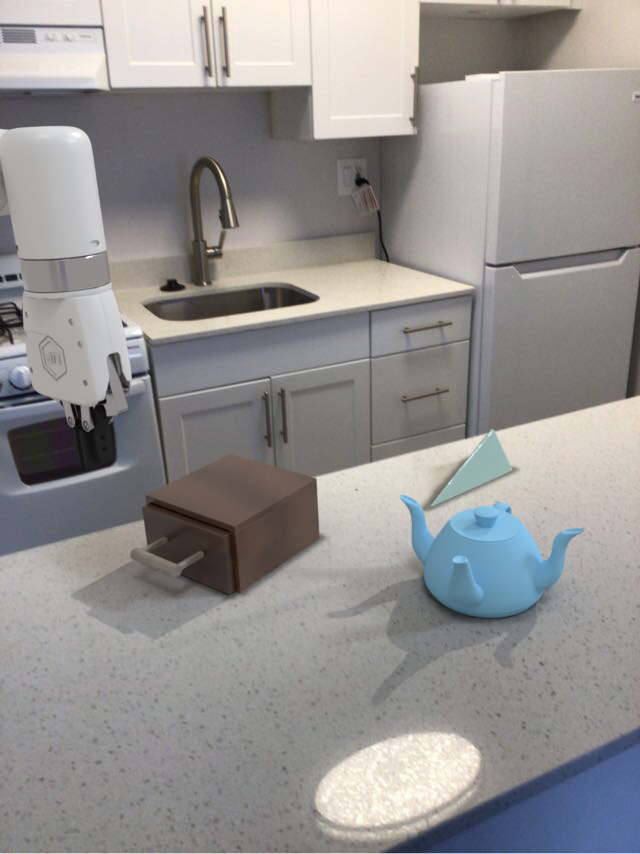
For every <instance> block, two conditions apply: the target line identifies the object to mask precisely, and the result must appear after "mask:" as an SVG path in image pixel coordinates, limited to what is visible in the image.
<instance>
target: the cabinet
mask: <svg viewBox="0 0 640 854" xmlns="http://www.w3.org/2000/svg"><path fill="white" fill-rule="evenodd" d="M317 480H318V479H317V477H313V476H310V475H307V474H302V473H299V472H296V471H293V470H288V469H285V468H281V467H278V466H274V465H270V464H267V463H264V462H260V461H257V460H256V461H255V460H252V459H249V458H245V457H241V456H239V455H234V454H231V453H229V454H227V455H225V456H223V457H221V458H219V459H217V460H215V461H213V462H211V463H208V464H207V465H205V466H202V467H200V468H198V469H196V470H194V471H192V472H190V473H188V474H186V475H184V476H181V477H179V478H177V479H175V480H173V481H172V482H170V483H168V484H167V483H166V484H165V485H163V486H161V487H159V488H157V489H155V490H153V491H151V492H149V493H147V494H145V503H146V505H147V504H149V503H150V504H153V505H156V506H159V507H161V508H163V507H165V508H168V509H170V510H173V511H176V512H179V513H181V514H184V515H187V516H190V517H192V518H195V519H198V520H201V521H204V522H206V523H209V524H212V525H215V526H217V527H220V528H223V529H226V530H228V531H230V533H231V539H232V549H233V559H234V569H235V579H236V591H235V592H237V593H240V594H242V593H244V591H246V590H247V589H249V588H250V587H252V586H254V585H255V584H257V583H258V582H259V581H260V580H262V579H263V578H265V577H266V576H268V575H269V574H270V573H272V572H273V571H275V570H277V569H278V568H280V567H281V566H282V565H284V564H285V563H286V562H288V561H290V560H292V559H293V558H295V556H297V555H298V554H299V553H300V554H301V552H302V551H304V550H306V549H307V548H308V547H310V546H311V545H313V544H314V543H315V542H317V541H318V540H320V537H321V535H320V521H319V517H320V516H319V499H318V498H319V497H318V481H317Z"/></svg>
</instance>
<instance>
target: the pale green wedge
mask: <svg viewBox="0 0 640 854" xmlns="http://www.w3.org/2000/svg"><path fill="white" fill-rule="evenodd" d="M511 471H513V468H512V465H511V462H510V461H509V459H508V456H507V455H506V452H505V449H504V448H503V445H502V444H501V441H500V439H499V438H498V435H497V433H496V431H495V430H494V428H491V429H490V430H489V431H488V432H487V433H486V435H485V436H484V437H483V438H482V439H481V441H480V442H479V443H478V445H477V446H476V447H475V448H474V449H473V451H472V452H471V453H470V455H469V456H468V457H467V458H466V460H465V461H464V462H463V463H462V464H461V466H460V467H459V468H458V470H457V471H456V472H455V473H454V475H453V476H452V477H451V479H450V480H449V481H448V483H447V484H446V485H445V486H444V487H443V489H442V490H441V491H440V493H439V494H438V496H437V497H436V498H435V499H434V500H433V502H432V503H431V504H430V506H429V507H433V506H436V505H437V504H440V503H442V502H445V501H447V500H449V499H451V498H453V497H454V498H455V496H458V495H460V494H462V493H465V492H467V491H469V490H472V489H474V488H476V487H479V486H481V485H483V484H485V483H488V482H489V481H492V480H494V479H496V478H498V477H501V476H503V475H506V474H507V473H510V472H511Z"/></svg>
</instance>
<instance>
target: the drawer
mask: <svg viewBox="0 0 640 854" xmlns="http://www.w3.org/2000/svg"><path fill="white" fill-rule="evenodd" d="M141 511H142V517H143V524H144V532H145V536H146V537H145V539H146V545H145V546H144V547H142V548H139V547H134V548H132V549H131V550H130V554H129V556H130V559H131V560H133V561H135V562H137V563H139V564H142V565H145V566H146V567H149V568H151V569H154V570H156V571H158V572H160V573H162V574H165V575H167V576H170V577H172V578H179V577H180V576H181V575H182V576H184V577H187V578H189V579H191V580H193V581H196V582H198V583H201V584H203V585H206V586H207V587H210V588H212V589H215V590H217V591H220V592H222V593H224V594H227V595H231V594H233V593H234V592H237V591H236V579H235V569H234V559H233V549H232V539H231V533H230V532H228V531H225V530H222V529H219V528H217V527H214V526H211V525H208V524H206V523H203V522H200V521H197V520H194V519H192V518H189V517H188V516H187V515H184V514H181V513H179V512H176V511H173V510H170V509H168V508H165V507H163V508H161V507H159V506H156V505H153V504H150V503H149V504H147V503H146V504H145V505H143V506H141Z"/></svg>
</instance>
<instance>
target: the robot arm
mask: <svg viewBox="0 0 640 854" xmlns="http://www.w3.org/2000/svg"><path fill="white" fill-rule="evenodd" d="M3 216H10V220H11V226H12V231H13V236H14V243H15V248H16V252H17V258H18V263H19V269H20V276H21V281H22V286H23V292H22V293H23V294H22V322H23V323H22V324H23V334H24V343H25V351H26V358H27V366H28V371H29V376H30V382H31V386H32V389H34V391H36V392H37V393H38V394H40V395H41V396H45V397H48V398H50V399H52V400H54V401H55V402H57V403H59V404H60V406H62V407H61V408H63V411H64V414H65V418H66V422H67V425H68V426H69V427H70V428H71V430H72V431H71V432H72V436H73V440H74V441H73V442H74V443H73V444H74V448H75V453H76V461H77V464H78V466H79V467H82V468H85V469H88V470H93V469H96V468H98V467H100V466H103V465H105V464H108V463H110V462H113V461H114V460H115V458H116V453H115V446H114V440H113V435H112V427H111V424H113V422H114V417H117V416H119V415H122V414H125V413H127V412H128V411H129V405H128V401H127V397H126V395H128V394H130V393H131V391H132V388H133V378H132V377H133V376H132V366H131V361H130V359H131V358H130V353H129V348H128V343H127V338H126V334H125V328H124V324H123V320H122V317H121V313H120V309H119V306H118V302H117V299H116V296H115V293H114V290H113V289H112V288H113V284H112V279H111V271H110V264H109V256H108V251H107V249H108V248H107V241H106V235H105V227H104V222H103V215H102V207H101V200H100V193H99V186H98V179H97V173H96V166H95V158H94V151H93V147H92V142H91V140H90V137H89V135H88V134H87V133H86V132H85V130H84V131H83V130H82V129H81V128H78V127H75V126H68V125H48V126H47V125H42V126H27V127H25V126H24V127H15V128H10V129H5V128H0V217H3Z"/></svg>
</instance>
